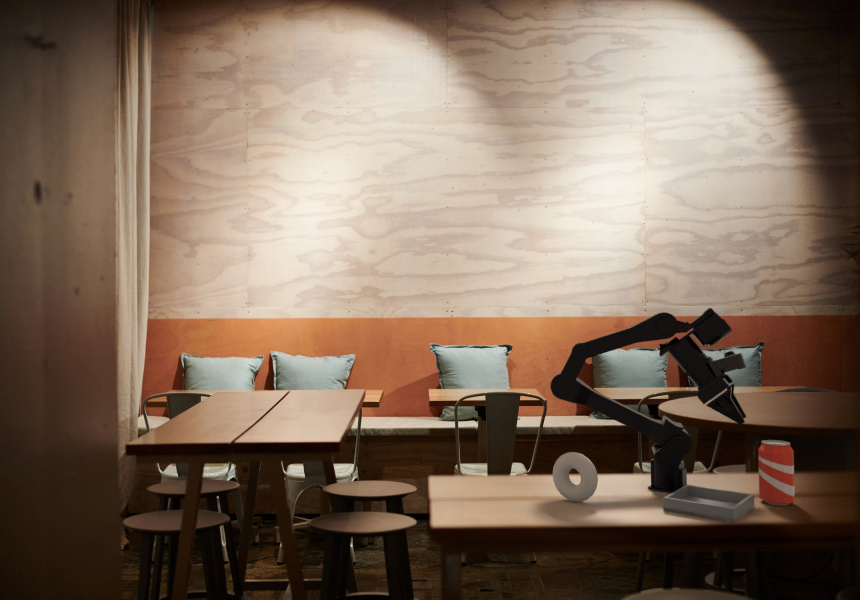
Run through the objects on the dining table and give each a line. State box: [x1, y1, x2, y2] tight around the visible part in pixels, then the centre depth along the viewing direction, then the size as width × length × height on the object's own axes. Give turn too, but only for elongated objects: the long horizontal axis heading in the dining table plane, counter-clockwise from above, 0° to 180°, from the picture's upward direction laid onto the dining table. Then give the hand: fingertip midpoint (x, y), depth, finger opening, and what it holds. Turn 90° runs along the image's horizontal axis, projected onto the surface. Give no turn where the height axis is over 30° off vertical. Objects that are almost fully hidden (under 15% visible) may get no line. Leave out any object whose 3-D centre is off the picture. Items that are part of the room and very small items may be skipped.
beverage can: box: [757, 439, 796, 507], centre depth 138 cm, size 6×6×12 cm
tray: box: [662, 484, 755, 524], centre depth 134 cm, size 13×13×2 cm
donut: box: [552, 451, 599, 503], centre depth 140 cm, size 10×4×10 cm, turn 47°
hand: (743, 420), depth 143 cm, fingers open, 9 cm apart
